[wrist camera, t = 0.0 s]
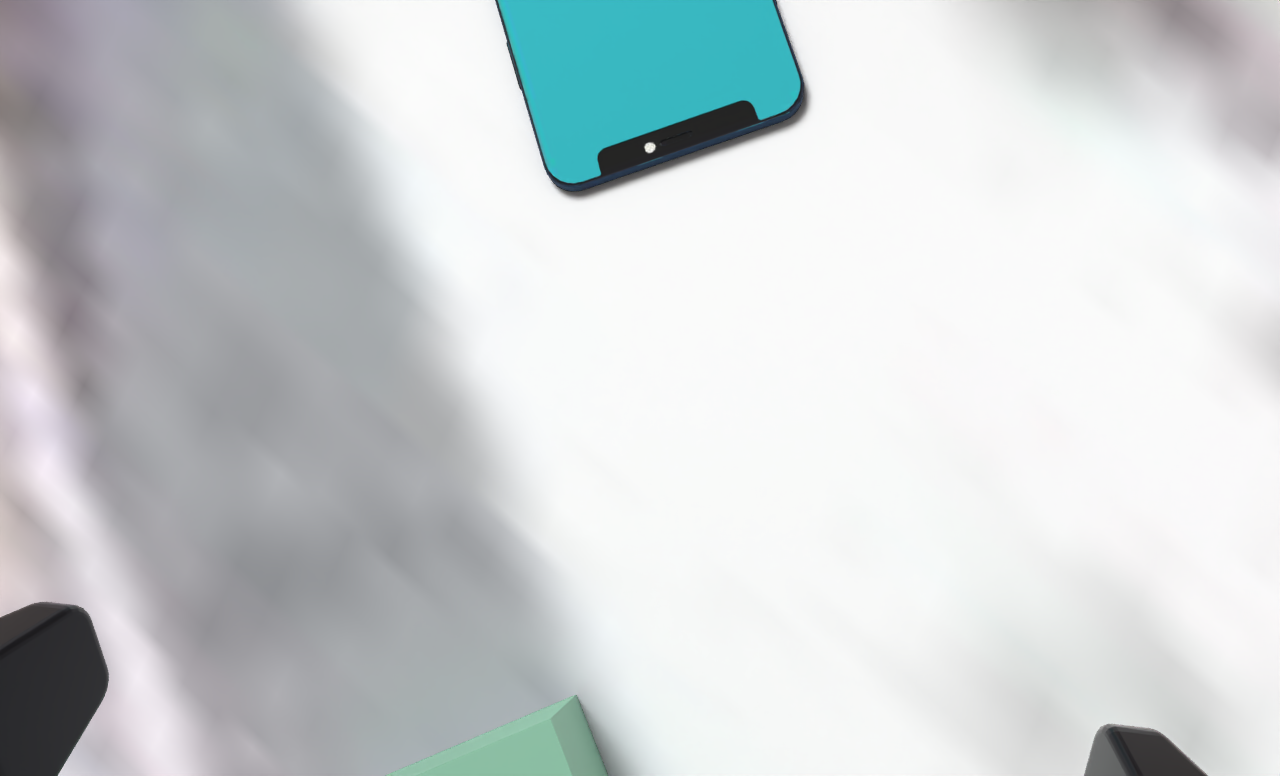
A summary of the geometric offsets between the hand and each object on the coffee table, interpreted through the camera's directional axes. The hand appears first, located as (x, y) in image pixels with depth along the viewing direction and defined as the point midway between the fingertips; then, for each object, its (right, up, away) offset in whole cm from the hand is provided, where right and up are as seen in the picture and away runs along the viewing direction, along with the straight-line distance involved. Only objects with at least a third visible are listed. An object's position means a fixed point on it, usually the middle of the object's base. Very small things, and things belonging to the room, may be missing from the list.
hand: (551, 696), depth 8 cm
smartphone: (0, +16, +18) cm, 24 cm away
